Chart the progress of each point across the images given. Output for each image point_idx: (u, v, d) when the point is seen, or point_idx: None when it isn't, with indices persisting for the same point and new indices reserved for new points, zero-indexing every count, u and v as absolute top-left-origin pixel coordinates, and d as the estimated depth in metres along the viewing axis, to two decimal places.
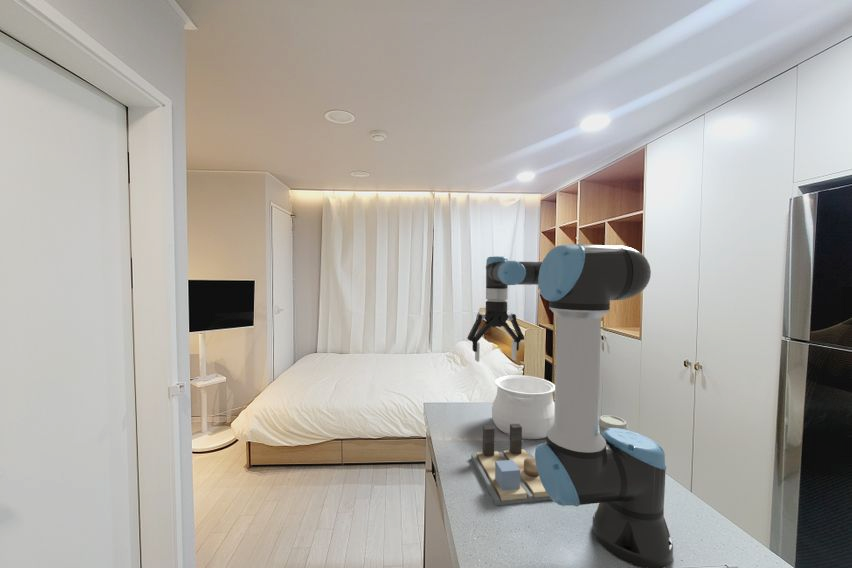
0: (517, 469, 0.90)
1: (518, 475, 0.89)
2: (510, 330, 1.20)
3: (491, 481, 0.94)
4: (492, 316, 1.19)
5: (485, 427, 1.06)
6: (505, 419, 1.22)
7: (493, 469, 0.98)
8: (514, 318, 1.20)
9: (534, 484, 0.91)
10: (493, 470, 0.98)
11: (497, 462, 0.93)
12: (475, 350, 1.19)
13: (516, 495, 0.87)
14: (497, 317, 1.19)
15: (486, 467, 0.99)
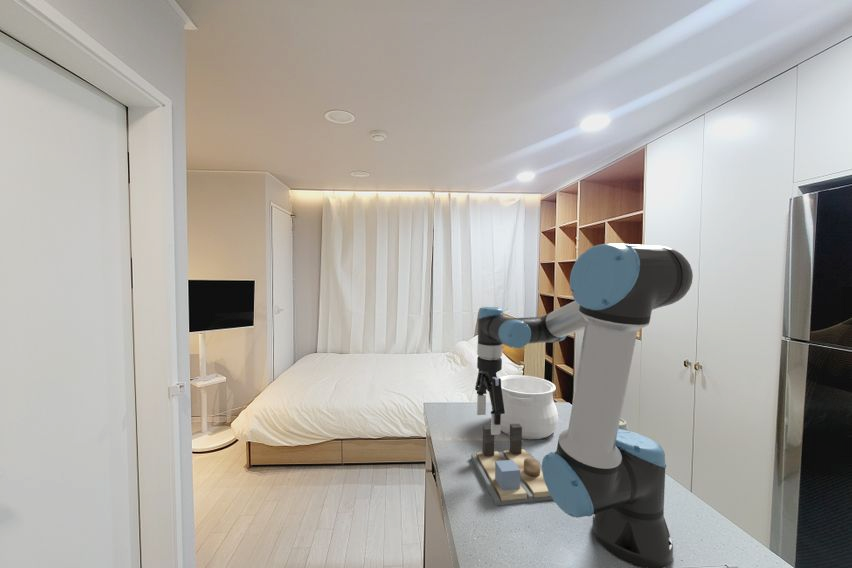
0: (517, 469, 0.90)
1: (518, 475, 0.89)
2: (490, 396, 1.01)
3: (491, 481, 0.94)
4: (483, 372, 1.08)
5: (485, 427, 1.06)
6: (505, 419, 1.22)
7: (493, 469, 0.98)
8: (492, 383, 1.00)
9: (534, 484, 0.91)
10: (493, 470, 0.98)
11: (497, 462, 0.93)
12: None
13: (516, 495, 0.87)
14: (485, 375, 1.06)
15: (486, 467, 0.99)
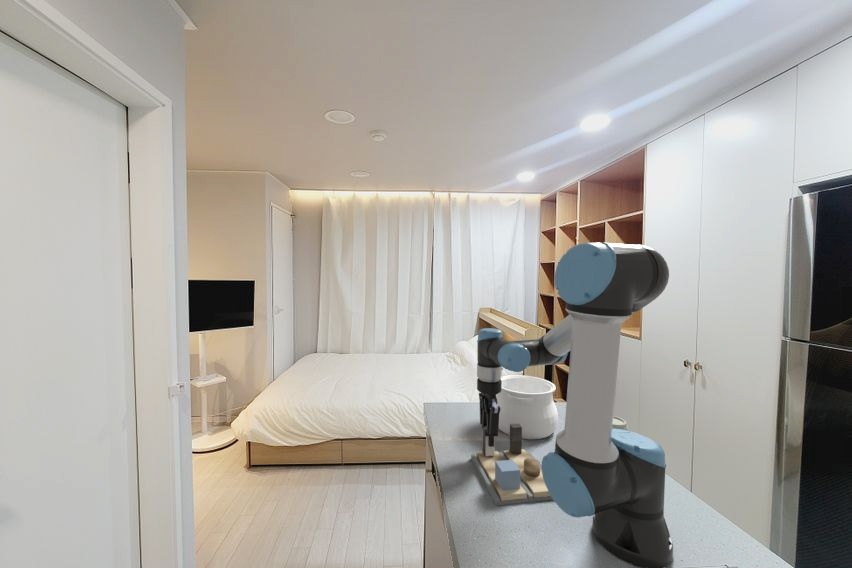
0: (517, 469, 0.90)
1: (518, 475, 0.89)
2: (487, 418, 1.04)
3: (491, 481, 0.94)
4: None
5: (485, 427, 1.06)
6: (505, 419, 1.22)
7: (493, 469, 0.98)
8: (491, 411, 1.01)
9: (534, 484, 0.91)
10: (493, 470, 0.98)
11: (497, 462, 0.93)
12: None
13: (516, 495, 0.87)
14: (485, 397, 1.06)
15: (486, 467, 0.99)
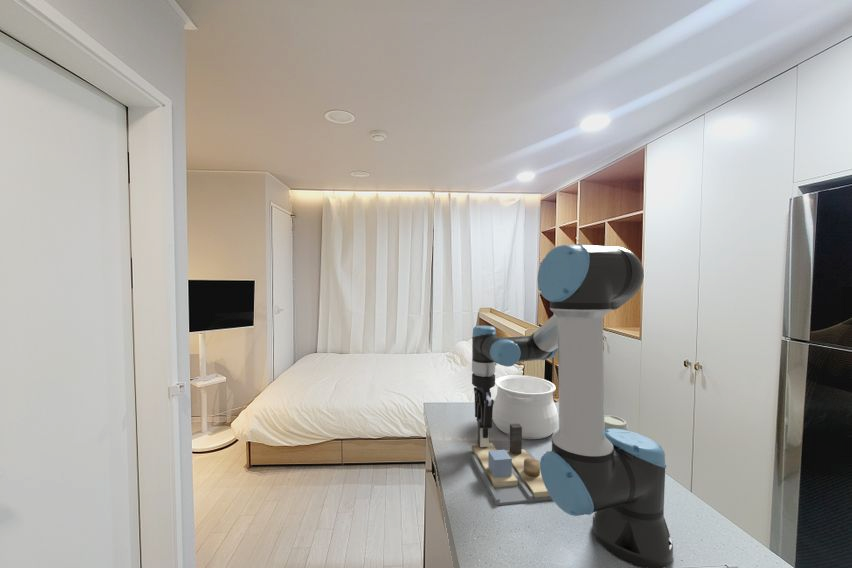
0: (509, 458, 0.95)
1: (510, 463, 0.95)
2: (481, 411, 1.10)
3: (484, 470, 0.99)
4: None
5: (480, 420, 1.12)
6: (505, 419, 1.22)
7: (487, 459, 1.04)
8: (485, 403, 1.06)
9: (534, 484, 0.91)
10: (487, 459, 1.03)
11: (490, 452, 0.98)
12: None
13: (508, 482, 0.93)
14: (480, 391, 1.12)
15: (480, 457, 1.05)
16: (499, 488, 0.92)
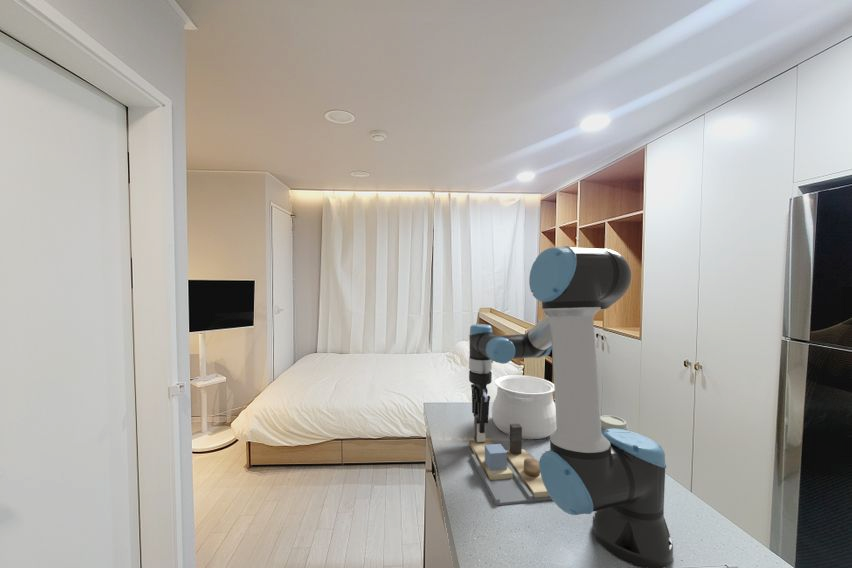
0: (504, 451, 0.99)
1: (505, 457, 0.98)
2: (478, 407, 1.13)
3: (481, 463, 1.03)
4: None
5: (476, 415, 1.15)
6: (505, 419, 1.22)
7: (483, 453, 1.07)
8: (481, 399, 1.10)
9: (534, 484, 0.91)
10: (483, 454, 1.07)
11: (486, 446, 1.02)
12: None
13: (503, 475, 0.96)
14: (477, 387, 1.15)
15: (477, 451, 1.08)
16: (499, 488, 0.92)
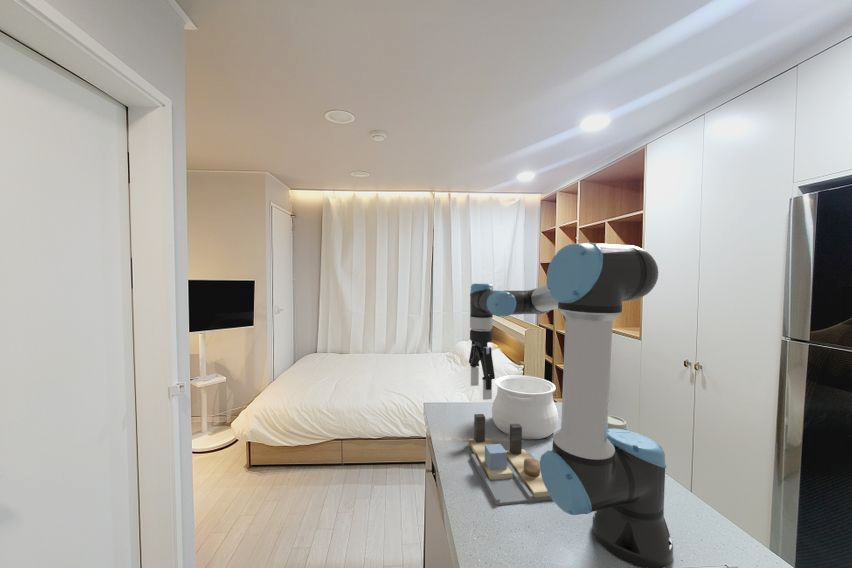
0: (504, 451, 0.99)
1: (505, 457, 0.98)
2: (482, 364, 1.10)
3: (481, 463, 1.03)
4: (476, 344, 1.16)
5: (476, 415, 1.15)
6: (505, 419, 1.22)
7: (483, 453, 1.07)
8: (483, 352, 1.08)
9: (534, 484, 0.91)
10: (483, 454, 1.07)
11: (486, 446, 1.02)
12: None
13: (503, 475, 0.96)
14: (477, 346, 1.15)
15: (477, 451, 1.08)
16: (499, 488, 0.92)
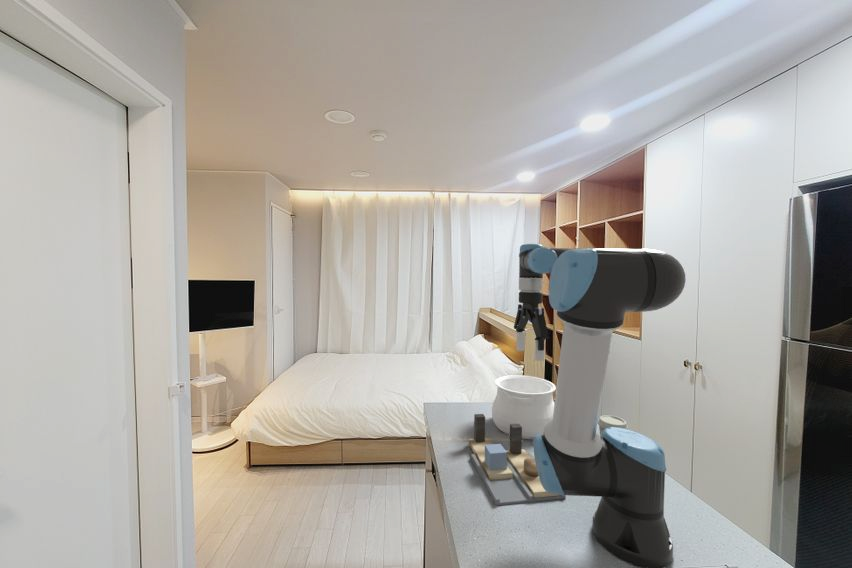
0: (504, 451, 0.99)
1: (505, 457, 0.98)
2: (533, 325, 1.08)
3: (481, 463, 1.03)
4: (524, 307, 1.14)
5: (476, 415, 1.15)
6: (505, 419, 1.22)
7: (483, 453, 1.07)
8: (535, 312, 1.06)
9: (534, 484, 0.91)
10: (483, 454, 1.07)
11: (486, 446, 1.02)
12: None
13: (503, 475, 0.96)
14: (527, 309, 1.12)
15: (477, 451, 1.08)
16: (499, 488, 0.92)
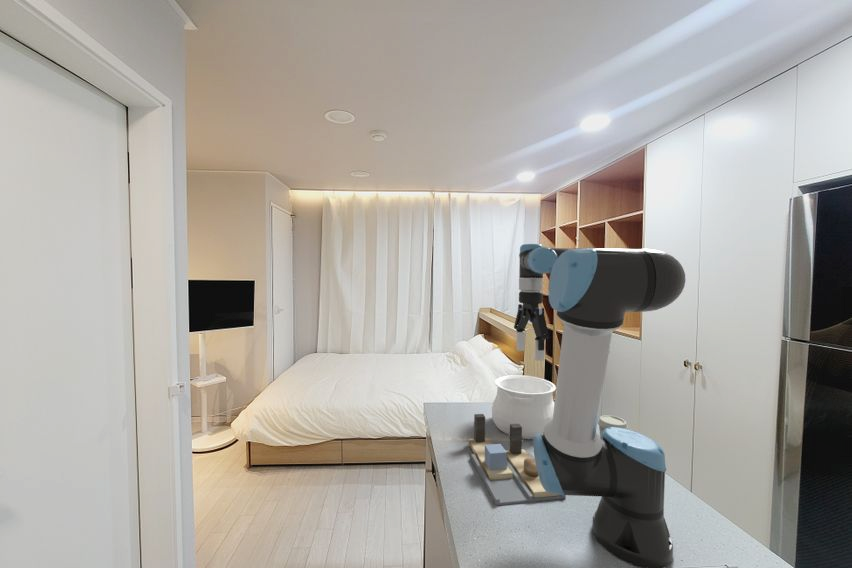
0: (504, 451, 0.99)
1: (505, 457, 0.98)
2: (533, 325, 1.08)
3: (481, 463, 1.03)
4: (524, 307, 1.14)
5: (476, 415, 1.15)
6: (505, 419, 1.22)
7: (483, 453, 1.07)
8: (536, 312, 1.06)
9: (534, 484, 0.91)
10: (483, 454, 1.07)
11: (486, 446, 1.02)
12: None
13: (503, 475, 0.96)
14: (527, 309, 1.12)
15: (477, 451, 1.08)
16: (499, 488, 0.92)
